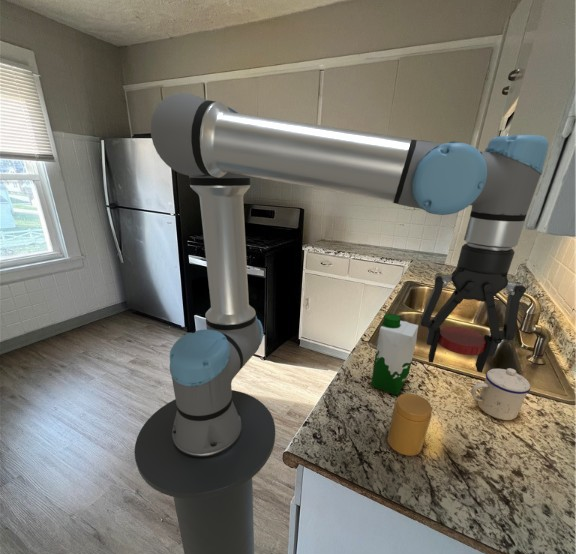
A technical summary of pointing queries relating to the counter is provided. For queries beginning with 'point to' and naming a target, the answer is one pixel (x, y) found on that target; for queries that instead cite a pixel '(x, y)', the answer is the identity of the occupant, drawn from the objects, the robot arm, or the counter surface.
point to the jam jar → (409, 424)
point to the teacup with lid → (502, 393)
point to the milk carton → (394, 353)
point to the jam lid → (461, 340)
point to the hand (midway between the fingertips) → (454, 363)
